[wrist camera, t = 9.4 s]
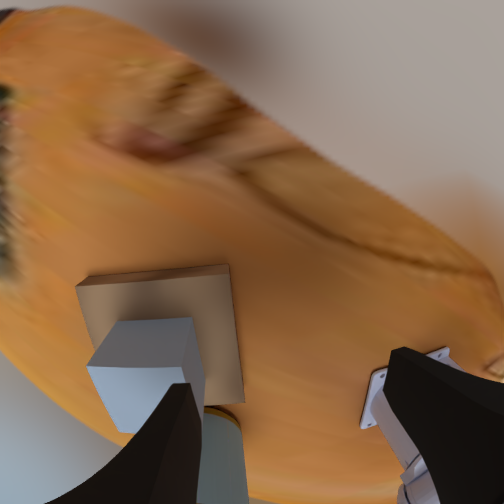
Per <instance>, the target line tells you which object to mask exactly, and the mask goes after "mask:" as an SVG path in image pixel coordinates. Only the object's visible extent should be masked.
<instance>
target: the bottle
mask: <svg viewBox="0 0 504 504" xmlns="http://www.w3.org/2000/svg"><path fill="white" fill-rule="evenodd" d="M196 504H249V497H248V488H247V479H246V469H245V460H244V450H243V439H242V433H241V427H240V425H239V424H238V423H237V422H236V420H235V419H233V418H232V417H230V416H229V415H227V414H226V413H224V412H222V411H219V410H217V409H214V408H210V407H204V412H203V429H202V450H201V460H200V469H199V479H198V488H197V502H196Z"/></svg>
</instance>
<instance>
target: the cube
mask: <svg viewBox="0 0 504 504" xmlns="http://www.w3.org/2000/svg"><path fill="white" fill-rule="evenodd" d="M86 367H87V369H88V372H89V374H90V376H91V378H92V381H93V383H94V385H95V387H96V389H97V391H98V393H99V395H100V397H101V399H102V401H103V403H104V405H105V407H106V409H107V411H108V413H109V414H110V416H111V418H112V420H113V422H114V423H115V425H116V427H117V429H118V430H119V432H126V433H137V432H138V431H139V429H140V428H141V427H142V426H143V424H144V423H145V422H146V420H147V419H148V418H149V416H150V415H151V414H152V412H153V411H154V409H155V408H156V406H157V405H158V404H159V402H160V401H161V399H162V398H163V396H164V395H165V393H166V392H167V390H168V389H169V387H170V386H171V385H172V384H173V383H190V384H191V387H192V391H193V395H194V398H195V402H196V405H197V408H198V412H199V415H200V418H201V421H202V429H203V412H204V396H205V381H206V380H205V376H204V372H203V367H202V363H201V358H200V354H199V349H198V344H197V339H196V334H195V329H194V324H193V319H192V317H185V318H170V319H154V320H135V321H117V322H116V323H115V325H114V326H113V327H112V329H111V330H110V332H109V333H108V334H107V336H106V337H105V339H104V340H103V342H102V343H101V345H100V346H99V347H98V349H97V350H96V352H95V353H94V355H93V356H92V358H91V359H90V361H89V362H88V364H87V365H86Z"/></svg>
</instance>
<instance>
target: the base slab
mask: <svg viewBox="0 0 504 504" xmlns="http://www.w3.org/2000/svg"><path fill="white" fill-rule="evenodd" d="M75 289H76V293H77V296H78V300H79V303H80V307H81V310H82V314H83V317H84V320H85V323H86V326H87V329H88V332H89V335H90V338H91V341H92V344H93V346H94V349H95V352H96V350H97V349H98V347H99V346H100V345H101V343H102V342H103V340H104V339H105V337H106V336H107V334H108V333H109V332H110V330H111V329H112V327H113V326H114V325H115V323H116V322H117V321H135V320H154V319H170V318H185V317H192V319H193V324H194V329H195V334H196V339H197V344H198V349H199V354H200V358H201V363H202V367H203V372H204V376H205V380H206V381H205V396H204V406H207V405H223V404H235V403H245V396H244V387H243V379H242V372H241V364H240V357H239V349H238V341H237V333H236V325H235V316H234V308H233V299H232V290H231V281H230V272H229V264H221V265H211V266H200V267H190V268H179V269H169V270H158V271H147V272H136V273H125V274H114V275H103V276H91V277H87V278H86V279H84V280H83V281H82V282H80V283H79V284H78V285H76V286H75Z"/></svg>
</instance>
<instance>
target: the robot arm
mask: <svg viewBox="0 0 504 504" xmlns="http://www.w3.org/2000/svg"><path fill="white" fill-rule="evenodd" d="M449 351H450V349H449V348H448V347H445V348H442V349H440V350H437V351H435V352H432V353H429V354H427V355H424V354H422V353H420V352H417V351H415V350H413V349H410V348H407V347H405V346H404V347H401V348H398V349H394V350H391V355H390V360H389V365H388V368H385V369H382V370H378V371H375V372H374V373H373V374H372V376H371V381H370V385H369V390H368V394H367V399H366V403H365V407H364V411H363V415H362V419H361V422H360V428H361V429H365V428H368V427H371V426H374V425H377V424H378V426H379V428H380V429H381V431H382V433H383V434H384V436H385V438H386V439H387V441H388V443H389V445H390V446H391V448H392V450H393V451H394V453H395V455H396V456H397V458H398V460H399V462H400V463H401V465H402V467H403V468H404V470H405V472H404V473H403V474H401V475H400V477H401V479H402V481H403V482H404V483H403V484H402V485H401V486H400V487H399V490H398V495H397V504H504V383H500V382H495V381H491V380H487V379H484V378H480V377H477V376H474V375H471V374H469V373H467V372H465V371H464V370H463V369H462V368H461V367H460V366H459V365H458V364H456V363H455V362H454V361H453V360H452V359H451V358H450V357H449V356H448V355H449ZM201 450H202V421H201V418H200V415H199V412H198V408H197V405H196V402H195V398H194V395H193V391H192V387H191V384H190V383H173V384H172V385H171V386H170V387H169V389H168V390H167V392H166V393H165V395H164V396H163V398H162V399H161V401H160V402H159V404H158V405H157V406H156V408H155V409H154V411H153V412H152V414H151V415H150V416H149V418H148V419H147V420H146V422H145V423H144V424H143V426H142V427H141V428H140V429H139V431H138V432H137V433H136V434H135V435H134V436H133V438H132V439H131V440H130V441H129V442H128V443H127V445H126V446H125V447H124V448H123V449H122V450H121V451H120V452H119V453H118V454H117V455H116V456H115V457H114V458H113V459H112V460H111V461H110V462H109V463H108V464H106V466H104V467H103V468H102V469H101V470H99V471H98V472H97V473H96V474H94V475H93V476H92V477H90V478H89V479H88V480H86V481H85V482H83V483H82V484H80V485H79V486H77V487H76V488H74V489H72V490H71V491H69V492H67V493H65V494H64V495H62V496H60V497H58V498H56V499H54V500H52V501H50V502H47V503H45V504H196V502H197V488H198V479H199V469H200V460H201Z"/></svg>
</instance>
